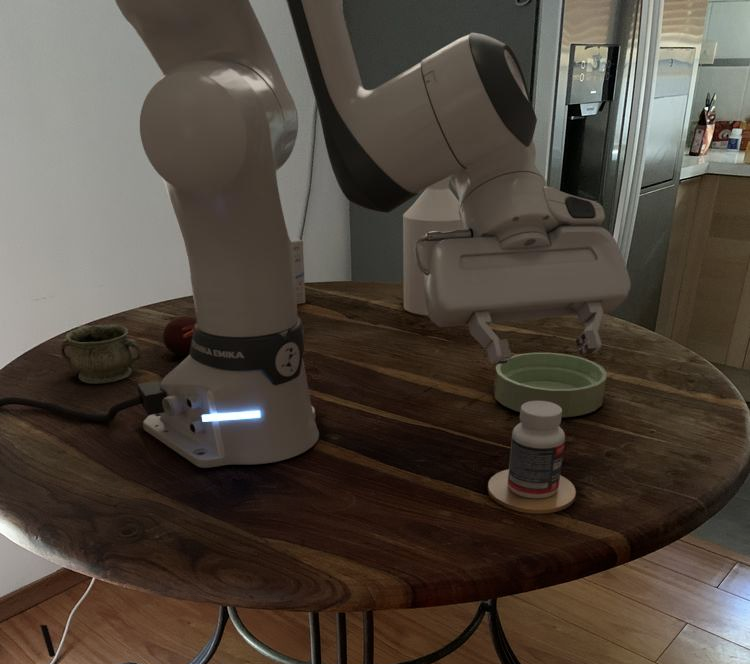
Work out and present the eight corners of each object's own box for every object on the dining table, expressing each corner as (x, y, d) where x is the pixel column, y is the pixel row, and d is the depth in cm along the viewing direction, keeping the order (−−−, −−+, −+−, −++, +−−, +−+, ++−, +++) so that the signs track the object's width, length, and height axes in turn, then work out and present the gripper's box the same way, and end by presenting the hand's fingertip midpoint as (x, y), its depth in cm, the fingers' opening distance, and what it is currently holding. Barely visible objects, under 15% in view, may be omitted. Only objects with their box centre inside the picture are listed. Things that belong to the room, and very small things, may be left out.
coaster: (471, 495, 76) (471, 491, 76) (513, 463, 82) (513, 459, 82) (551, 523, 71) (551, 519, 71) (589, 487, 77) (590, 483, 77)
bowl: (474, 402, 97) (475, 374, 95) (524, 372, 107) (527, 345, 105) (574, 429, 90) (578, 399, 88) (619, 394, 99) (624, 366, 97)
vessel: (53, 385, 104) (42, 342, 101) (77, 364, 112) (67, 323, 109) (136, 385, 104) (128, 342, 100) (154, 364, 111) (148, 323, 108)
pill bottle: (558, 502, 74) (569, 421, 69) (505, 497, 75) (513, 417, 70) (558, 477, 78) (568, 399, 74) (508, 473, 79) (515, 396, 75)
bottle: (479, 308, 136) (488, 160, 123) (428, 319, 130) (433, 165, 117) (438, 295, 144) (443, 155, 132) (389, 305, 138) (389, 159, 126)
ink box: (264, 309, 136) (258, 243, 131) (255, 303, 140) (249, 238, 134) (306, 303, 140) (303, 238, 134) (296, 297, 144) (292, 234, 138)
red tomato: (198, 344, 119) (193, 307, 116) (229, 357, 114) (224, 318, 111) (156, 354, 115) (150, 316, 112) (186, 368, 109) (181, 329, 106)
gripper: (419, 212, 66) (455, 351, 63) (616, 203, 71) (658, 331, 68) (401, 253, 72) (433, 382, 69) (585, 241, 77) (622, 361, 74)
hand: (547, 356), depth 69 cm, fingers open, 8 cm apart
